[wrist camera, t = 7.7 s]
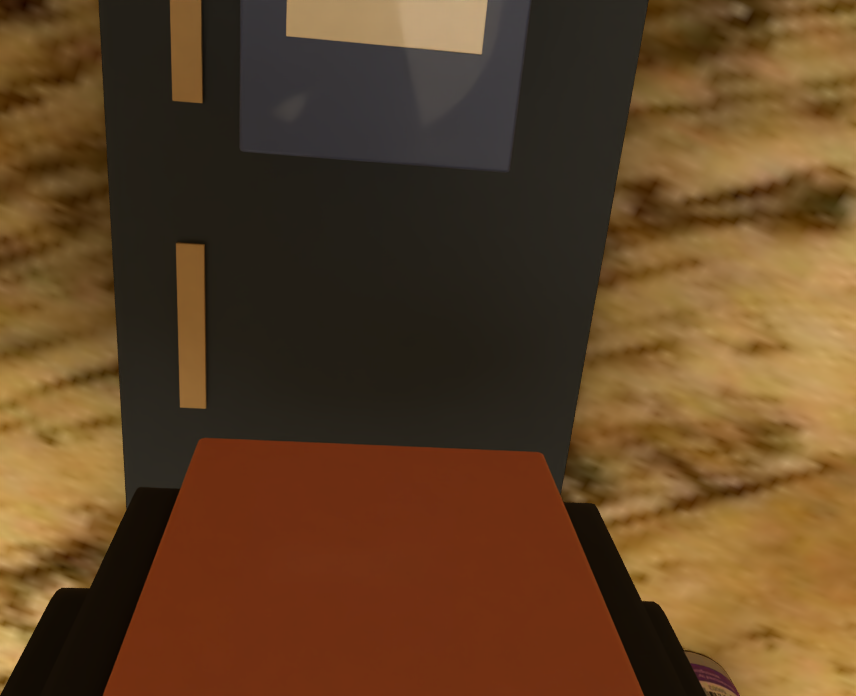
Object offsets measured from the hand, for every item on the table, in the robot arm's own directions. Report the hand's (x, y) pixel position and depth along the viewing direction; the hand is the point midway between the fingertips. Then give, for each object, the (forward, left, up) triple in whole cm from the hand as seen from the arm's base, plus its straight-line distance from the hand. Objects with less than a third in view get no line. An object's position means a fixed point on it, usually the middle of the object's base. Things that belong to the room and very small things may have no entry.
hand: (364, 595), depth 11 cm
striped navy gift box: (-7, 0, -9) cm, 11 cm away
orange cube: (0, 0, 0) cm, 0 cm away
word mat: (0, 0, -10) cm, 10 cm away
